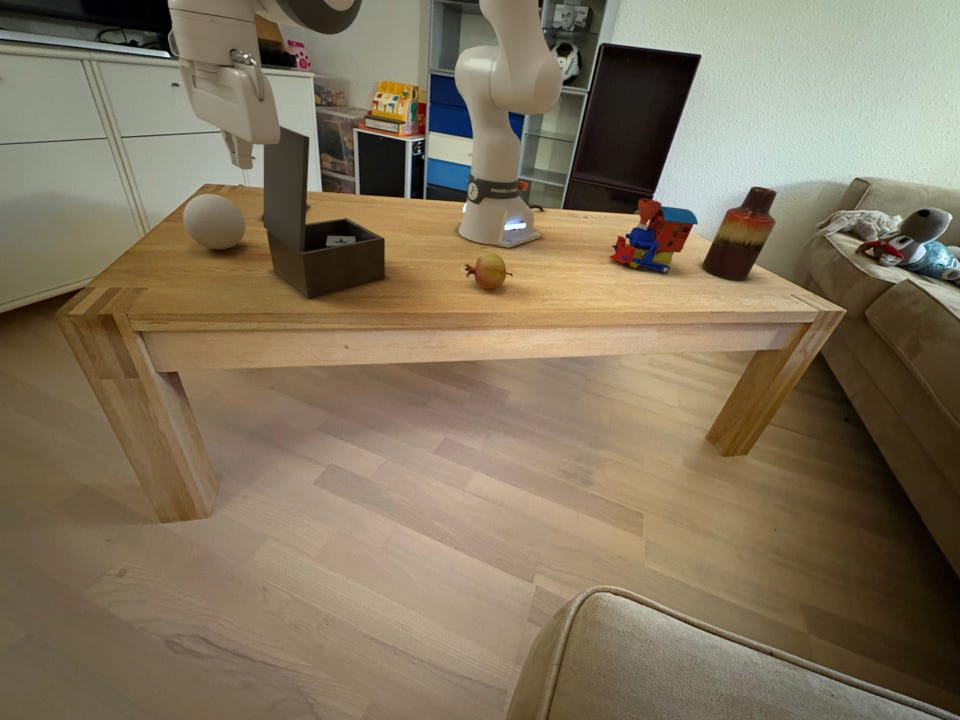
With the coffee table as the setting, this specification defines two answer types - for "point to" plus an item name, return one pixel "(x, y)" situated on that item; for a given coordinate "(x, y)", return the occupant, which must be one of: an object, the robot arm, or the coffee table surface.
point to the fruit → (488, 270)
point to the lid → (286, 187)
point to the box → (329, 258)
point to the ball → (214, 221)
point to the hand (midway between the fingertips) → (242, 167)
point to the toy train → (655, 236)
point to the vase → (741, 236)
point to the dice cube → (339, 240)
